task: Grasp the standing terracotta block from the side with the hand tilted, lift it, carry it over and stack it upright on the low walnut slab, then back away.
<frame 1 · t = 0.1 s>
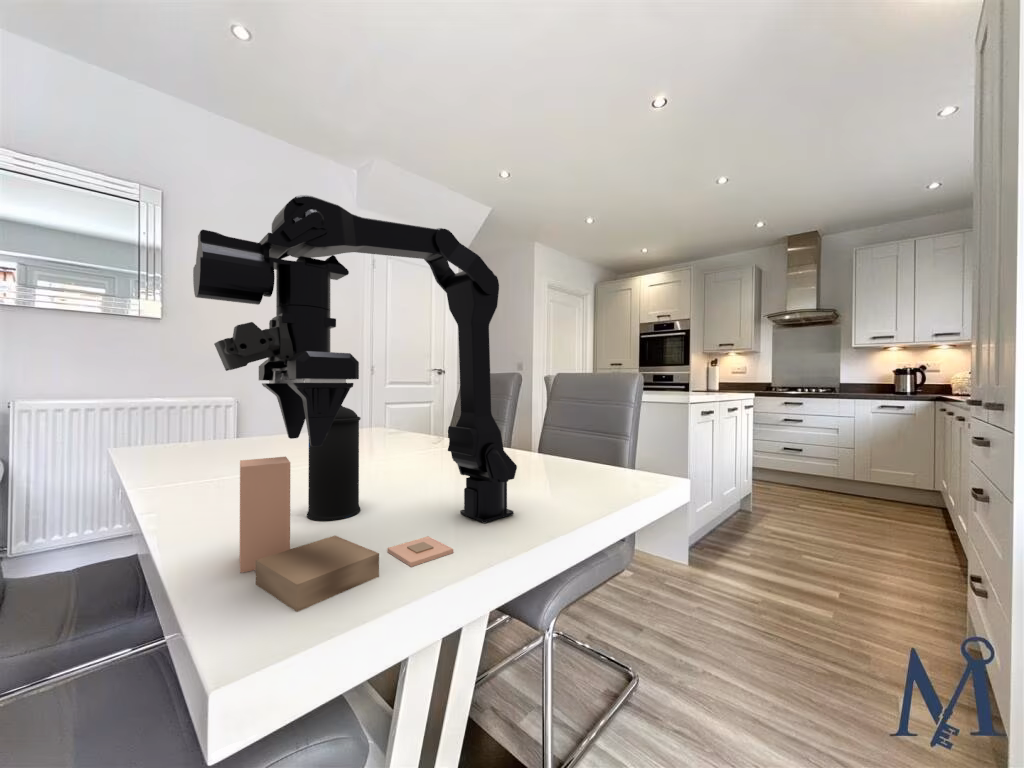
hand: (304, 442, 49), 15 cm above the table, tool pointing down, fingers open, 9 cm apart
terracotta block: (264, 560, 50), on the table
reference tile: (420, 552, 52), on the table
aerosol can: (334, 514, 69), on the table
walnut slab: (318, 584, 45), on the table
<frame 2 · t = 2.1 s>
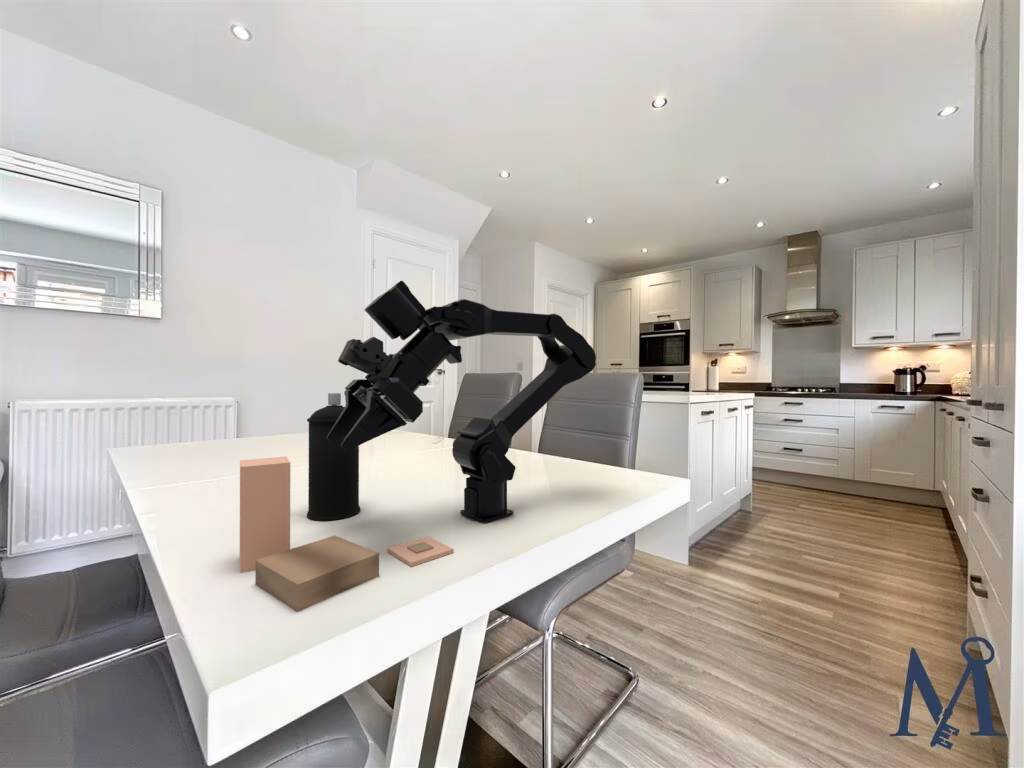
hand: (335, 443, 55), 13 cm above the table, tool tilted 45°, fingers open, 9 cm apart
nothing on the table moved.
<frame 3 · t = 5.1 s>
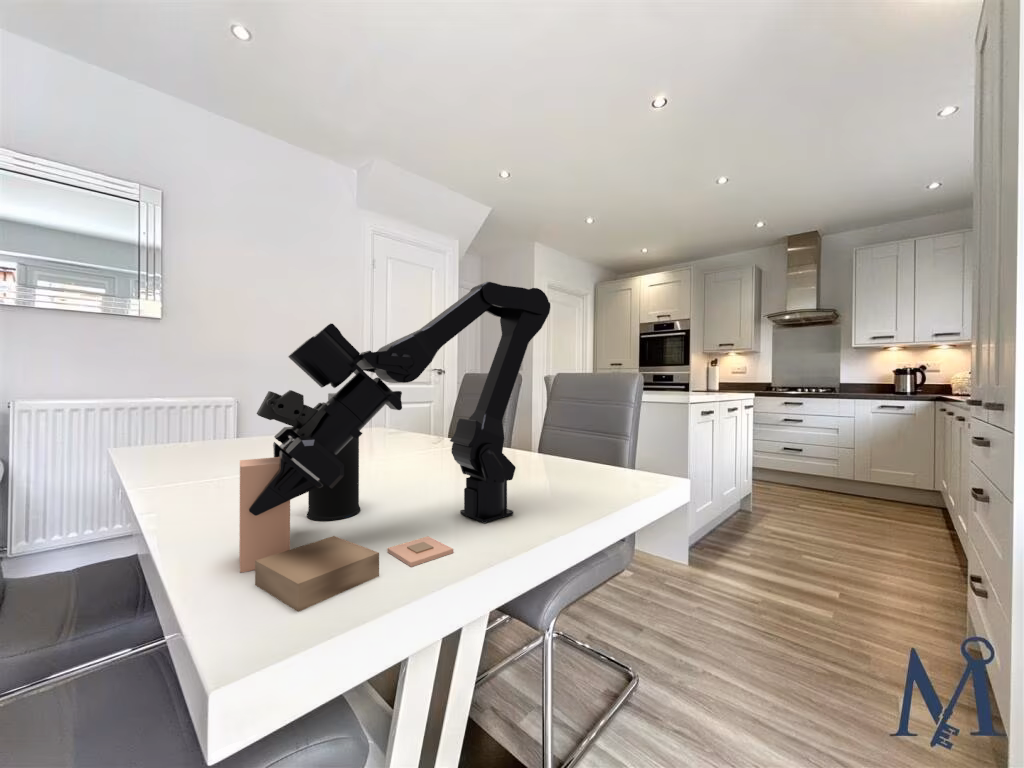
hand: (251, 507, 49), 7 cm above the table, tool tilted 45°, fingers closed on terracotta block, 5 cm apart
terracotta block: (264, 559, 50), on the table, touching gripper
everything else where it was.
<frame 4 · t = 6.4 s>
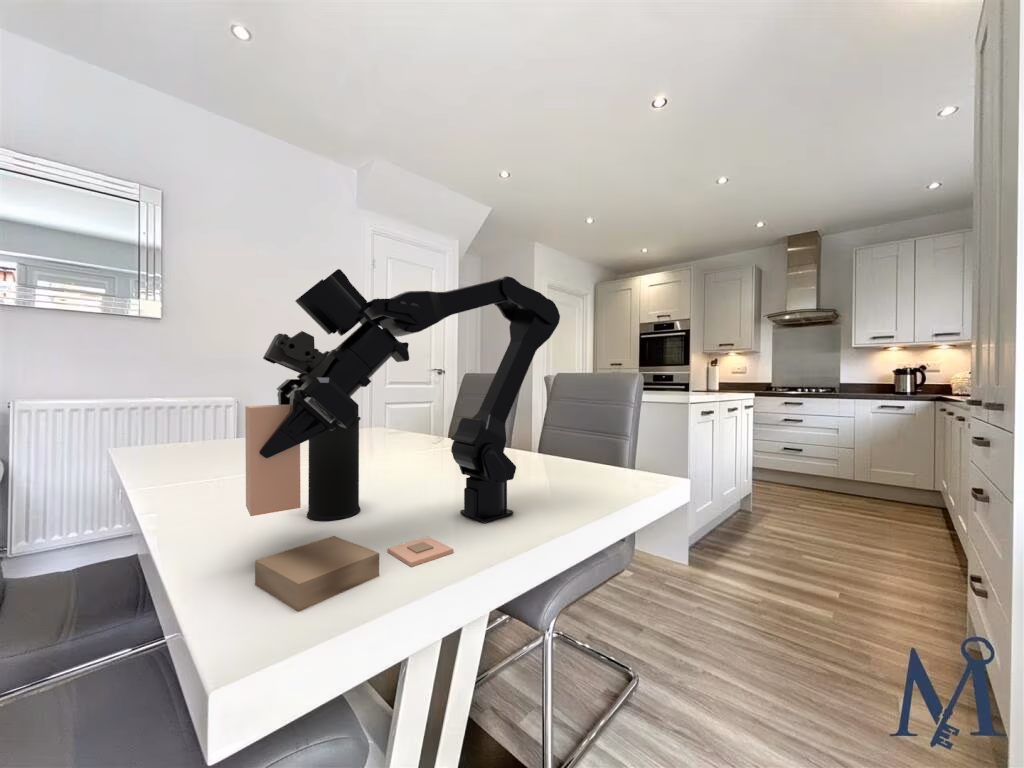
hand: (259, 452, 48), 13 cm above the table, tool tilted 45°, fingers closed on terracotta block, 5 cm apart
terracotta block: (272, 506, 49), point 7 cm above the table, touching gripper
everything else where it was.
when the fingers open (10 cm above the table, at t = 8.1 s): terracotta block drops 1 cm, resting on walnut slab.
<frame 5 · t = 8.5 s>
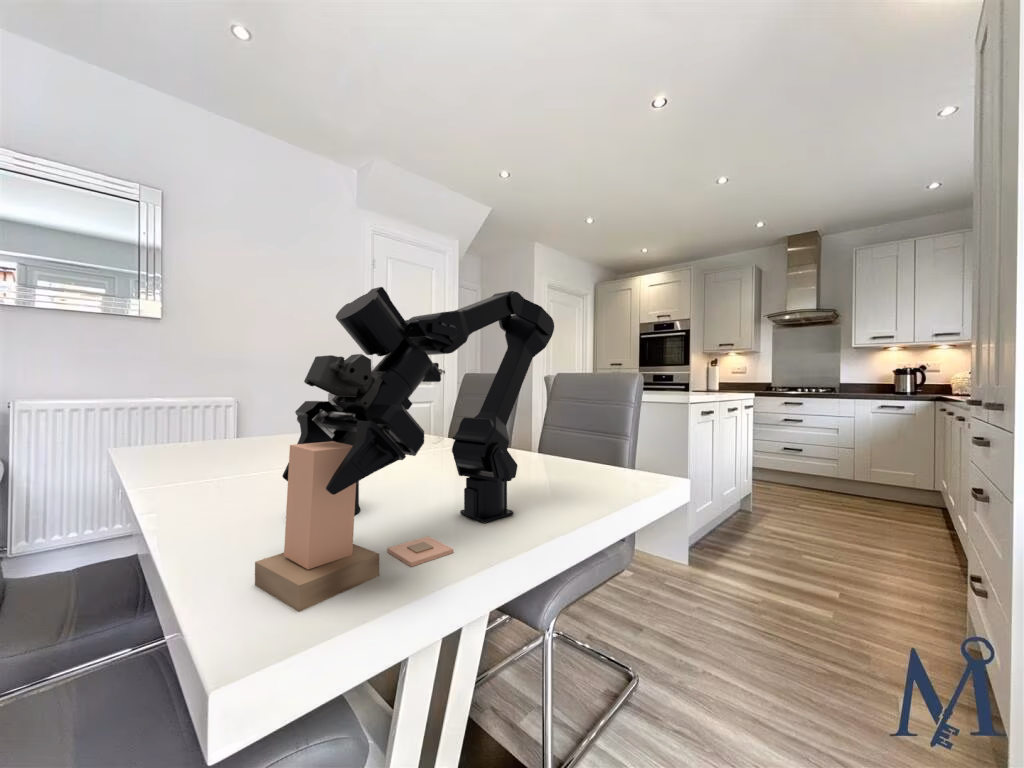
hand: (306, 485, 44), 11 cm above the table, tool tilted 45°, fingers open, 9 cm apart
terracotta block: (318, 555, 45), point 3 cm above the table, touching walnut slab
walnut slab: (318, 585, 45), on the table, touching terracotta block
everything else where it was.
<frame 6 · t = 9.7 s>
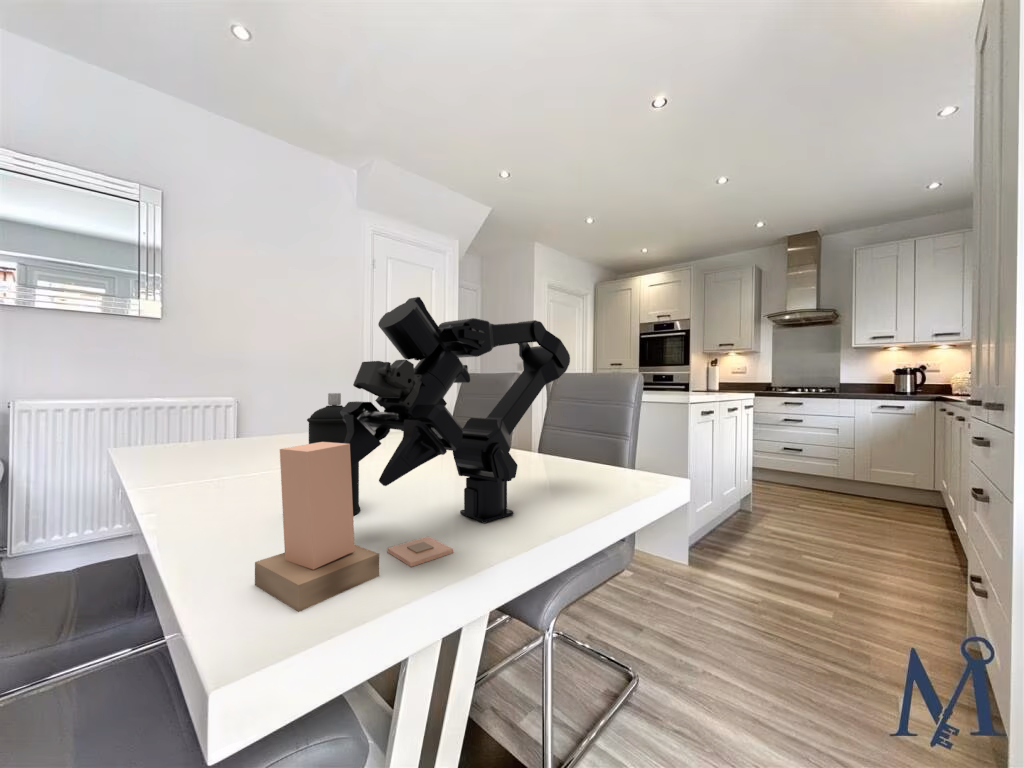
hand: (358, 478, 49), 10 cm above the table, tool tilted 45°, fingers open, 9 cm apart
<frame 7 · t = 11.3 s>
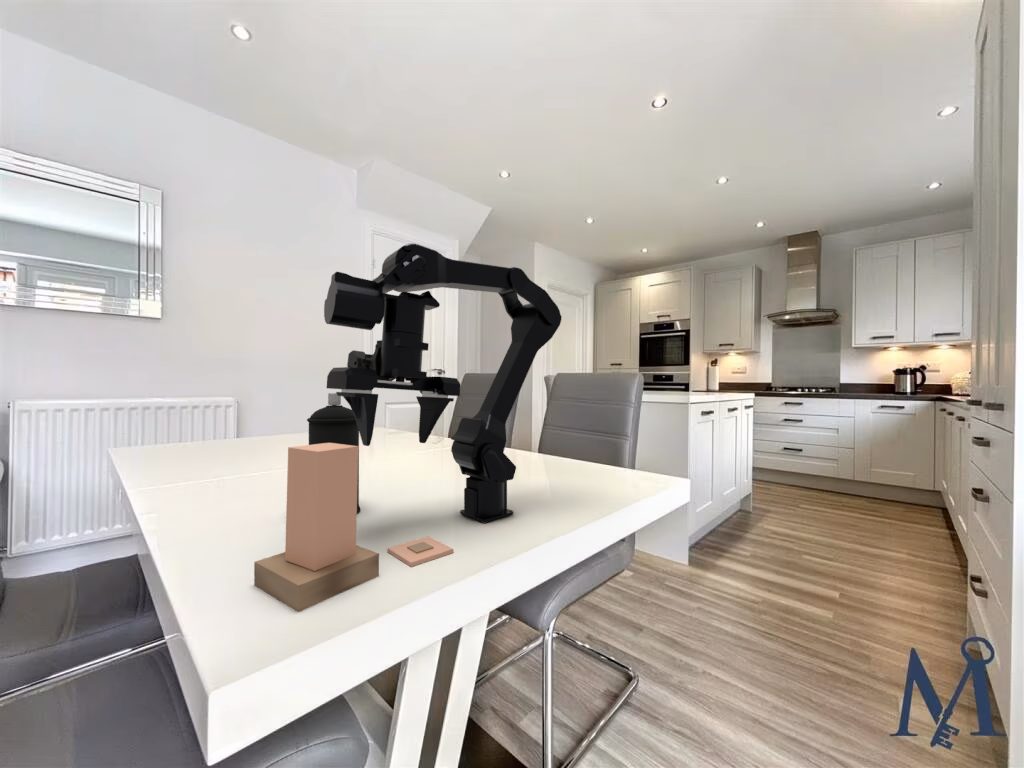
hand: (396, 444, 59), 13 cm above the table, tool pointing down, fingers open, 9 cm apart
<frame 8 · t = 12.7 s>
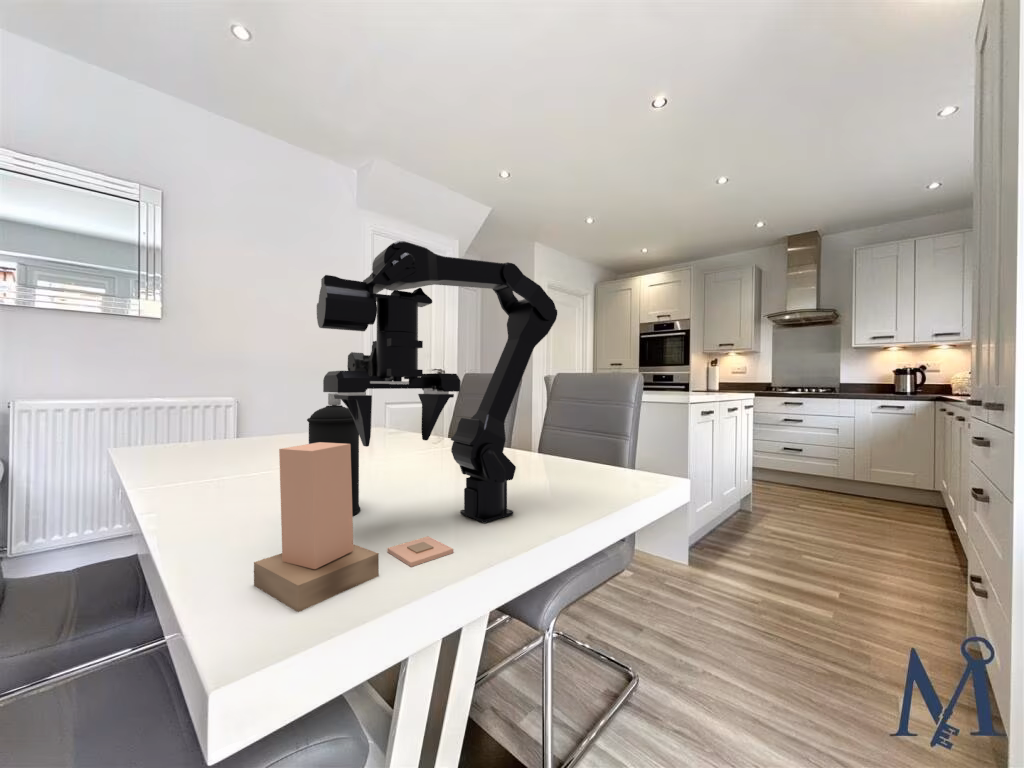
hand: (397, 443, 59), 13 cm above the table, tool pointing down, fingers open, 9 cm apart
terracotta block: (318, 555, 45), point 3 cm above the table
walnut slab: (317, 585, 45), on the table
everything else where it was.
at the end: terracotta block 0.3 cm off-centre on the walnut slab, point 3.1 cm above the walnut slab's base; terracotta block tilted 1°; the gripper is holding nothing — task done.
